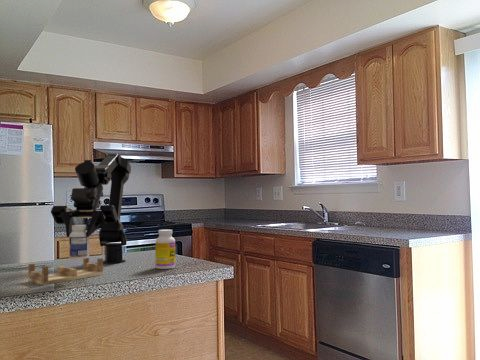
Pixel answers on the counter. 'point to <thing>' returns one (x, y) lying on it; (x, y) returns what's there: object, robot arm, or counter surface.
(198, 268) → the counter surface
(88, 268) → the rack
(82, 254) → the pill bottle
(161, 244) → the supplement bottle
